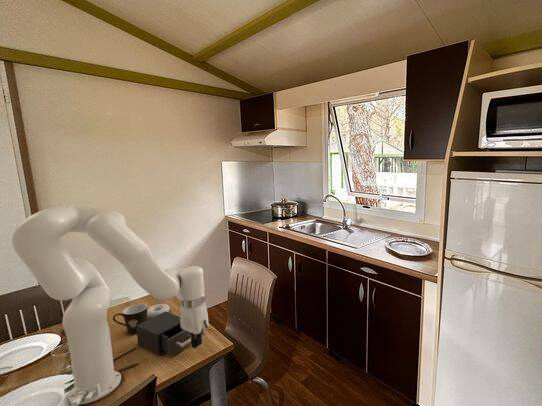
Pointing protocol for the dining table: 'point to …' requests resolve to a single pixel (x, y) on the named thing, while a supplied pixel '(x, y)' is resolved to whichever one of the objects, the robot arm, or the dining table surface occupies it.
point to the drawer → (174, 340)
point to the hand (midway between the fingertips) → (196, 345)
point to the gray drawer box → (155, 331)
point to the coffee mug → (133, 317)
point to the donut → (157, 310)
